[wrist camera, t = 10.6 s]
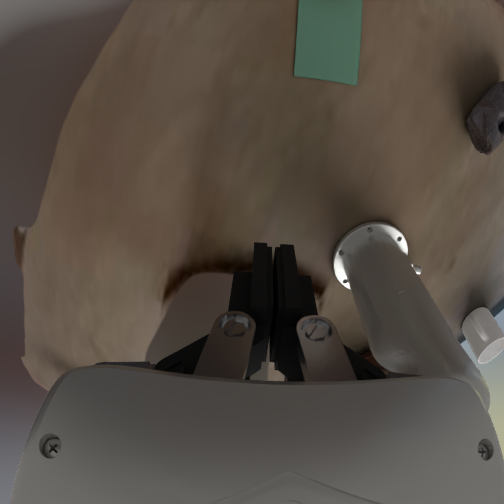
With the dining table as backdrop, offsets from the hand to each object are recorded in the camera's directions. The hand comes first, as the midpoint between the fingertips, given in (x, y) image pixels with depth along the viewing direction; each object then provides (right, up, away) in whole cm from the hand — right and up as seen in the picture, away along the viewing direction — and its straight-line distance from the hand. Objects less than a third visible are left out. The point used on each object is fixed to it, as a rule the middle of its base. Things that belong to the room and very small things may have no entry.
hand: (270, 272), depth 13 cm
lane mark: (+9, +35, +10) cm, 37 cm away
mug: (+49, -14, +38) cm, 64 cm away
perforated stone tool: (+34, +23, +16) cm, 44 cm away
